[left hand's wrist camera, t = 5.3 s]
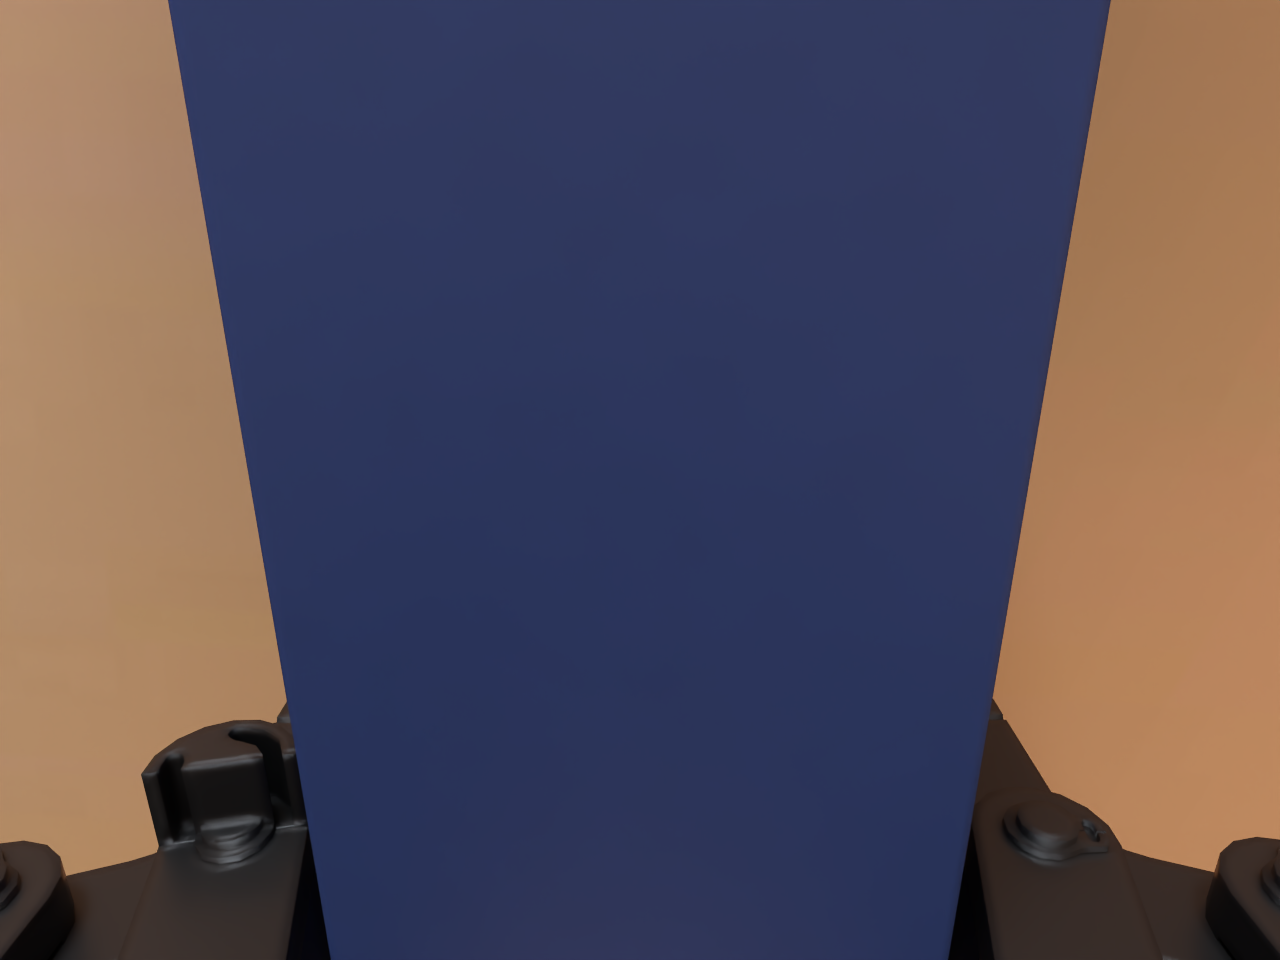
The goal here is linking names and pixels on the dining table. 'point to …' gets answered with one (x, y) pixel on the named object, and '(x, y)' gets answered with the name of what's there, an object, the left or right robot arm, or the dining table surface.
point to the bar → (639, 446)
